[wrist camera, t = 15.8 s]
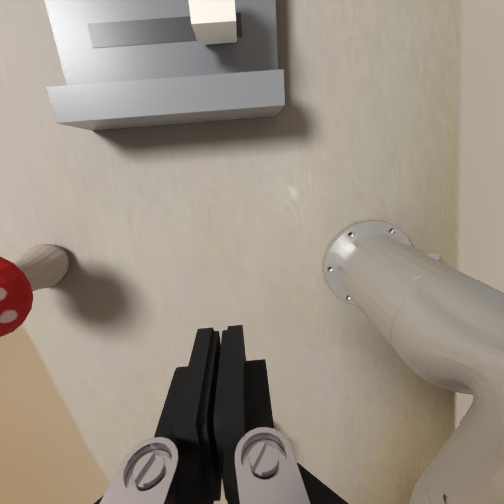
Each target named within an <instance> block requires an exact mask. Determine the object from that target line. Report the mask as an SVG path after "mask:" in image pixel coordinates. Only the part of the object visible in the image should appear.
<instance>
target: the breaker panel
mask: <svg viewBox="0 0 504 504" xmlns="http://www.w3.org/2000/svg"><path fill="white" fill-rule="evenodd" d="M45 3H46V7H47V11H48V15H49V19H50V23H51V27H52V30H53V34H54V38H55V42H56V46H57V50H58V54H59V58H60V61H61V65H62V69H63V73H64V77H65V81H66V85H67V86H55V87H47V90H48V94H49V98H50V101H51V105H52V108H53V112H54V115H55V119H56V123H60V124H64V125H69V126H73V127H78V128H83V129H87V130H92V131H93V130H106V129H118V128H131V127H144V126H157V125H169V124H182V123H195V122H208V121H220V120H233V119H246V118H259V117H271V116H277V115H278V113H279V112H280V111H281V110H282V108H283V107H284V106H285V90H284V69H279V70H278V49H277V23H276V0H235V12H236V31H237V42H233V43H220V44H207V45H198V42H197V39H196V36H195V33H194V31H193V28H192V25H191V18H190V10H189V2H188V0H45Z"/></svg>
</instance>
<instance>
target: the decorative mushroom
mask: <svg viewBox="0 0 504 504" xmlns="http://www.w3.org/2000/svg"><path fill="white" fill-rule="evenodd" d="M68 267H69V257H68V255H67V253H66V252H65V251H64V250H63V249H62V248H61V247H59V246H57V245H51V244H42V245H36V246H34V247H32V248H30V249H29V250H27V251H26V252H25V253H24V254H23V256H22V257H21V258H20V259H19V260H17V261H16V262H14V263H12V262H10V261H8V260H6V259H4V258H2V257H0V337H1V336H3V335H6V334H8V333H11V332H13V331H14V330H15V329H16V328H18V327H19V326H20V325H21V324H22V323H23V322H24V320H25V319H26V317H27V315H28V314H29V312H30V310H31V308H32V301H33V293H32V291H35V290H38V289H42V288H49V287H51V286H54V285H56V284H57V283H58V282H59V281H60V280H61V279H62V278H63V276H64V275H65V273H66V272H67V270H68Z"/></svg>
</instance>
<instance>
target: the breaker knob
mask: <svg viewBox="0 0 504 504" xmlns="http://www.w3.org/2000/svg"><path fill="white" fill-rule="evenodd" d="M188 2H189V10H190V18H191V25H192V28H193V31H194V33H195V36H196V39H197V42H198V45H207V44H220V43H233V42H237V31H236V12H235V0H188Z"/></svg>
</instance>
